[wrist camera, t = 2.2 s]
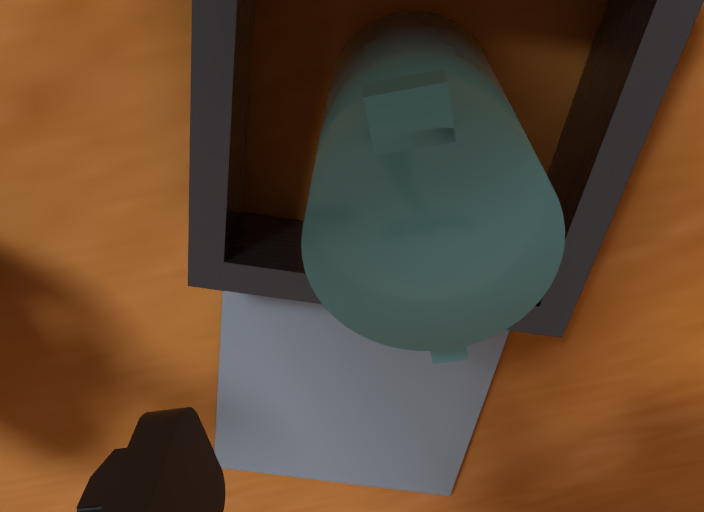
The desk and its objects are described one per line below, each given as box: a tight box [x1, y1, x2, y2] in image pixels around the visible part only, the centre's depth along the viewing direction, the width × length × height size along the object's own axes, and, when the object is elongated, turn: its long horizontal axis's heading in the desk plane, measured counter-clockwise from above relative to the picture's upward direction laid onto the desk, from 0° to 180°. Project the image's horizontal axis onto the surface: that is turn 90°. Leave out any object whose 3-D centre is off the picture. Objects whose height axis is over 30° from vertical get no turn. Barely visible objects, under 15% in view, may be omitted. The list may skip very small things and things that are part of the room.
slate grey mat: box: [215, 291, 510, 496], centre depth 30 cm, size 12×12×1 cm
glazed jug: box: [301, 12, 565, 364], centre depth 19 cm, size 9×6×10 cm, turn 12°
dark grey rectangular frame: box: [188, 0, 704, 337], centre depth 21 cm, size 13×13×4 cm
